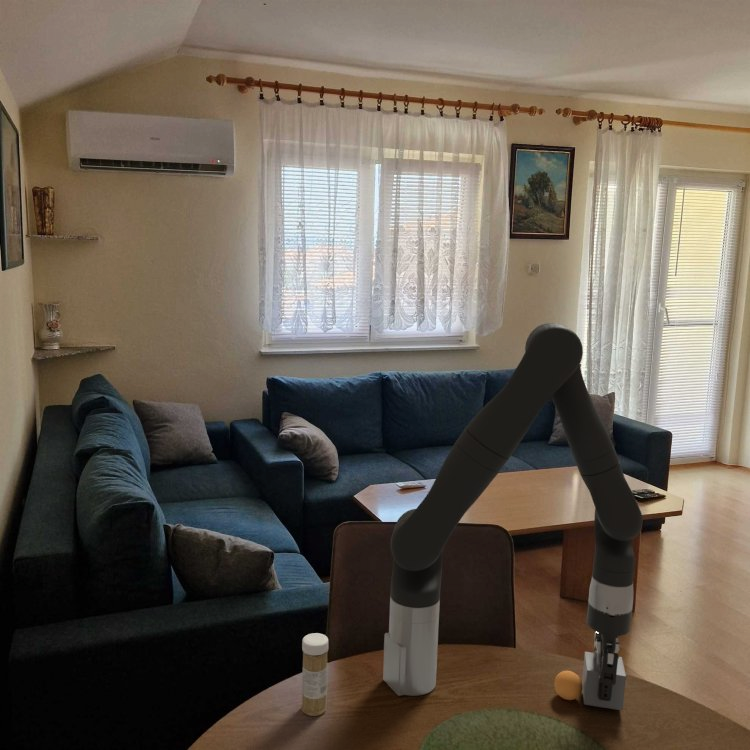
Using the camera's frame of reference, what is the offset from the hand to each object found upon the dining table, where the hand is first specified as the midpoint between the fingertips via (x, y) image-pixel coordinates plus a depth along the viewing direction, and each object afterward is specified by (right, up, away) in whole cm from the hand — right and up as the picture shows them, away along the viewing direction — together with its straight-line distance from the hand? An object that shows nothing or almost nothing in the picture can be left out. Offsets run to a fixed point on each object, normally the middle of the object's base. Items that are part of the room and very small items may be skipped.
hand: (602, 687), depth 132 cm
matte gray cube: (0, -2, 0) cm, 2 cm away
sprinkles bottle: (-52, -2, -4) cm, 53 cm away
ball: (-6, 0, +1) cm, 6 cm away
